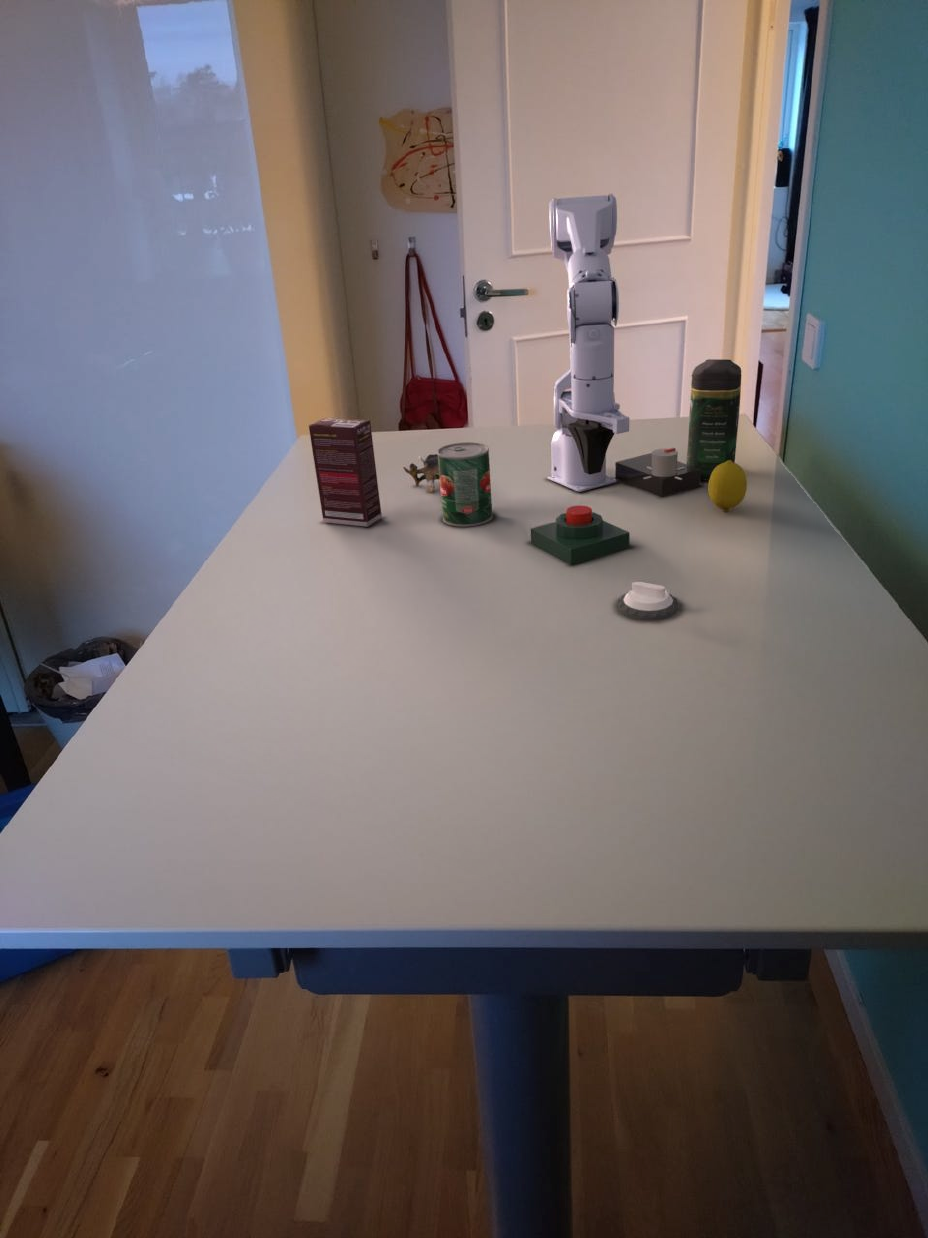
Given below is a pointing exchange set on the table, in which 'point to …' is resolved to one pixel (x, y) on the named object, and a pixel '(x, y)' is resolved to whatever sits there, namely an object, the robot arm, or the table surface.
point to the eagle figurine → (426, 471)
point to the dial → (664, 462)
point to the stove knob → (648, 602)
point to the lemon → (727, 485)
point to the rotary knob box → (641, 476)
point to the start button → (578, 515)
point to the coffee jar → (713, 415)
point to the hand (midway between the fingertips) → (592, 472)
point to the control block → (579, 539)
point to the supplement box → (346, 471)
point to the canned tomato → (465, 484)
